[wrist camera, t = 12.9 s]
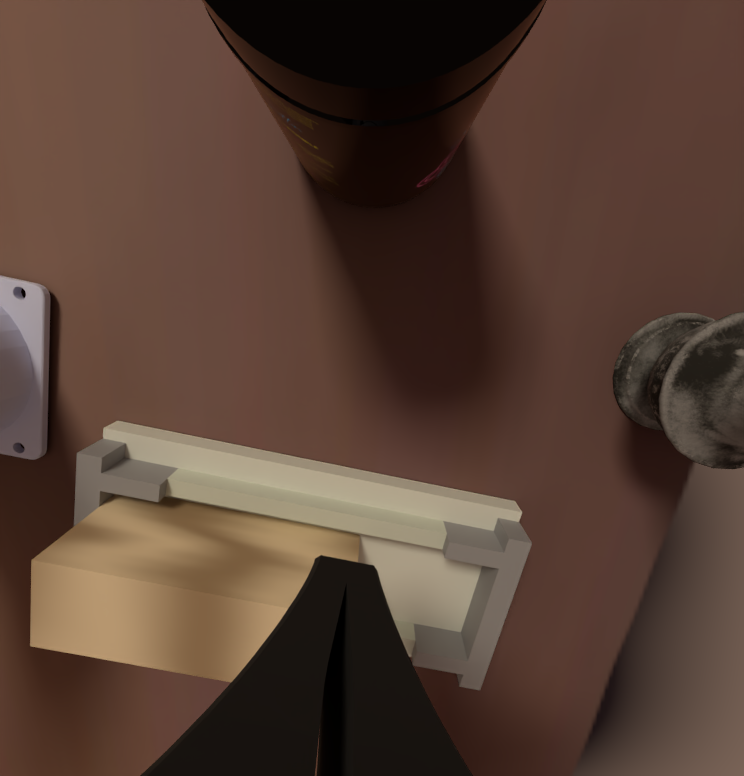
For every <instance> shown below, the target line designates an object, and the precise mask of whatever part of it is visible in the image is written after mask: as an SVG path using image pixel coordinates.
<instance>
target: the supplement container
mask: <svg viewBox="0 0 744 776" xmlns="http://www.w3.org/2000/svg"><path fill="white" fill-rule="evenodd" d="M202 2H203V3H204V5H205V7H206V10H207V12H208V14H209V16H210V18H211V19H212V21H213V23H214V24H215V26H216V28H217V30H218V31H219V33H220V35H221V36H222V38H223V40H224V41H225V43H226V44H227V45H228V47H229V48H230V50H231V51H232V53H233V54H234V55H235V57H236V58H237V59H238V60H239V62H240V63H241V64H242V65H243V67H244V68H245V70H246V72H247V73H248V75H249V77H250V78H251V80H252V82H253V83H254V85H255V87H256V88H257V90H258V92H259V93H260V95H261V97H262V98H263V100H264V102H265V103H266V105H267V107H268V108H269V110H270V112H271V113H272V115H273V117H274V118H275V120H276V122H277V124H278V125H279V127H280V129H281V130H282V132H283V134H284V135H285V137H286V139H287V140H288V142H289V144H290V145H291V147H292V149H293V150H294V152H295V154H296V155H297V157H298V159H299V160H300V162H301V164H302V165H303V167H304V168H305V170H306V171H307V173H308V174H309V175H310V176H311V177H312V179H313V180H314V181H315V182H316V183H317V184H318V185H319V186H320V187H322V188H323V189H324V190H325V191H327V192H328V193H330V194H331V195H333V196H334V197H336V198H338V199H340V200H342V201H344V202H347V203H350V204H353V205H357V206H361V207H370V208H380V207H388V206H393V205H397V204H400V203H403V202H406V201H408V200H410V199H412V198H414V197H416V196H417V195H419V194H421V193H422V192H423V191H425V190H426V189H427V188H429V187H430V186H431V185H432V184H433V183H434V182H435V181H436V180H437V179H438V178H439V177H440V176H441V174H442V173H443V172H444V170H445V169H446V168H447V166H448V164H449V163H450V161H451V159H452V158H453V156H454V154H455V153H456V151H457V149H458V147H459V146H460V144H461V142H462V140H463V139H464V137H465V135H466V134H467V132H468V130H469V128H470V127H471V125H472V123H473V122H474V120H475V118H476V116H477V115H478V113H479V111H480V109H481V108H482V106H483V104H484V103H485V101H486V99H487V97H488V96H489V94H490V92H491V91H492V89H493V87H494V85H495V84H496V82H497V80H498V79H499V77H500V75H501V73H502V72H503V70H504V68H505V66H506V65H507V63H508V62H509V61H510V59H511V58H512V57H513V55H514V54H515V53H516V51H517V50H518V49H519V47H520V46H521V44H522V43H523V42H524V40H525V39H526V37H527V35H528V33H529V32H530V30H531V28H532V27H533V25H534V23H535V22H536V20H537V18H538V17H539V15H540V13H541V11H542V9H543V7H544V5H545V3H546V0H202Z"/></svg>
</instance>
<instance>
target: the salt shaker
mask: <svg viewBox="0 0 744 776" xmlns="http://www.w3.org/2000/svg"><path fill="white" fill-rule="evenodd" d="M613 387H614V394H615V397H616V399H617V402H618V404H619V406H620V408H621V409H622V410H623V411H624V413H625V414H626V415H627V416H628V417H629V418H631V419H632V420H633V421H635V422H636V423H638V424H639V425H642V426H645V427H648V428H651V429H654V430H664V432H665V435H666V437H667V438H668V439H669V441H670V442H671V443H672V444H673V446H674V447H675V448H676V450H677V451H679V452H680V453H682V454H683V455H684V456H686V457H687V458H689V459H690V460H692V461H693V462H696V463H699V464H702V465H705V466H708V467H711V468H721V469H737V468H742V467H744V312H739V313H734V314H730V315H728V316H726V317H724V318H721V319H719V320H716V321H715V320H714V319H712V318H709V317H706V316H703V315H700V314H697V313H675V314H670V315H665V316H662V317H660V318H658V319H656V320H653V321H651V322H649V323H647V324H646V325H645V326H643V327H642V328H641V329H640V330H638V331H637V332H636V333H635V334H633V336H632V337H631V338H630V339H629V341H628V342H627V343H626V344H625V346H624V347H623V348H622V350H621V353H620V355H619V357H618V359H617V361H616V364H615V369H614V374H613Z"/></svg>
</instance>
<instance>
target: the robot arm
mask: <svg viewBox="0 0 744 776" xmlns="http://www.w3.org/2000/svg"><path fill="white" fill-rule="evenodd" d="M22 288H23V289H24V290H25V292H26V296H25V298H24V297H23V296H22V293H21V290H22ZM49 340H50V293H49V291H48V290H47V288H45V287H44V286H43V285H41V284H38V283H33V282H28V281H24V280H19V279H14V278H10V277H5V276H0V454H4V455H9V456H14V457H20V458H25V459H30V460H35V459H38V458H40V457H42V456H44V455H45V454H46V451H47V426H48V383H49ZM20 443H21V444H22V445H23V446H24V449H23V448H22V447H21V445H20ZM319 728H320V733H319ZM318 737H319V749H318V765H317V776H473V775H472V774H471V772H470V770H469V769H468V767H467V765H466V764H465V762H464V761H463V759H462V757H461V756H460V754H459V752H458V750H457V749H456V747H455V745H454V743H453V742H452V740H451V738H450V736H449V735H448V733H447V731H446V729H445V728H444V726H443V724H442V722H441V720H440V719H439V717H438V715H437V713H436V711H435V709H434V707H433V705H432V703H431V701H430V700H429V698H428V696H427V694H426V692H425V689H424V687H423V685H422V683H421V681H420V679H419V677H418V675H417V673H416V671H415V669H414V667H413V664H412V662H411V660H410V658H409V656H408V653H407V651H406V649H405V646H404V644H403V642H402V639H401V637H400V634H399V632H398V630H397V627H396V625H395V622H394V620H393V617H392V614H391V612H390V609H389V606H388V603H387V601H386V598H385V595H384V592H383V589H382V585H381V582H380V579H379V575H378V571H377V569H376V568H375V566H374V565H369V564H364V563H359V562H354V561H349V560H344V559H338V558H333V557H328V556H323V555H320V556H319V557H317V558H315V560H314V564H313V566H312V568H311V571H310V573H309V575H308V577H307V579H306V581H305V582H304V584H303V586H302V588H301V589H300V591H299V593H298V594H297V596H296V598H295V599H294V601H293V602H292V604H291V605H290V607H289V608H288V610H287V611H286V613H285V614H284V616H283V617H282V619H281V620H280V622H279V623H278V624H277V626H276V627H275V629H274V630H273V631H272V633H271V634H270V635H269V636H268V638H267V639H266V640H265V642H264V643H263V644H262V645H261V647H260V648H259V649H258V651H257V652H256V653H255V655H254V656H253V657H252V658H251V660H250V661H249V662H248V663H247V665H246V666H245V667H244V668H243V669H242V671H241V672H240V673H239V674H238V675H237V676H236V678H235V679H234V680H233V681H232V682H231V683H230V685H229V686H228V687H227V688H226V689H225V690H224V691H223V692H222V694H221V695H220V696H219V697H218V698H217V699H216V700H215V701H214V702H213V704H212V705H211V706H210V707H209V708H208V709H207V710H206V711H205V712H204V713H203V714H202V715H201V716H200V717H199V718H198V719H197V720H196V721H195V722H194V723H193V724H192V725H191V726H190V728H189V729H188V730H187V731H186V732H185V733H184V734H183V735H182V736H181V737H180V738H179V739H178V740H177V741H176V742H175V743H174V744H173V745H172V746H171V747H170V748H169V749H168V750H167V751H166V752H165V753H164V754H163V755H162V756H161V757H160V758H159V759H158V760H157V761H156V762H155V763H153V764H152V765H151V766H150V767H149V768H148V769H147V770H146V771H145V772H144V773H143V774H142V775H141V776H315V767H316V757H317V747H318Z"/></svg>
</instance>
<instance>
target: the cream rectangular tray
mask: <svg viewBox="0 0 744 776" xmlns="http://www.w3.org/2000/svg"><path fill="white" fill-rule="evenodd" d="M115 494H118V495H123V496H128V497H134V498H139V499H144V500H149V501H154V502H159V501H160V500H161V499H162V498H163V497H170V498H175V499H180V500H185V501H190V502H195V503H200V504H205V505H210V506H215V507H220V508H225V509H231V510H236V511H241V512H246V513H251V514H256V515H261V516H266V517H271V518H276V519H281V520H287V521H292V522H297V523H302V524H307V525H312V526H317V527H322V528H327V529H332V530H337V531H342V532H348V533H353V534H358V535H360V540H359V555H358V562H359V563H364V564H369V565H374V566H375V568H376V569H377V571H378V575H379V579H380V582H381V585H382V589H383V592H384V595H385V598H386V601H387V603H388V606H389V609H390V612H391V614H392V617H393V620H394V622H395V625H396V627H397V630H398V632H399V634H400V637H401V639H402V642H403V644H404V646H405V649H406V651H407V653H408V656H409V657H412V664H413V666H418V667H423V668H429V669H434V670H440V671H445V672H450V673H456V674H457V678H458V683H459V687H464V688H470V689H475V690H480V689H481V686H482V683H483V681H484V678H485V675H486V672H487V669H488V666H489V664H490V661H491V658H492V655H493V652H494V650H495V647H496V644H497V641H498V638H499V635H500V633H501V630H502V627H503V624H504V621H505V618H506V616H507V613H508V610H509V607H510V604H511V601H512V599H513V596H514V593H515V590H516V587H517V584H518V582H519V579H520V576H521V573H522V570H523V567H524V565H525V562H526V559H527V556H528V553H529V550H530V548H531V545H532V542H531V541H530V539H529V538H528V536H527V534H526V533H525V531H524V529H523V528H522V526H521V524H520V523H519V520H520V517H521V515H522V511H521V510H520V508H519V507H518V505H517V504H516V502H515V501H511V500H506V499H502V498H497V497H492V496H487V495H482V494H477V493H472V492H467V491H462V490H457V489H452V488H447V487H442V486H437V485H432V484H428V483H423V482H418V481H413V480H408V479H403V478H398V477H393V476H388V475H383V474H378V473H373V472H368V471H363V470H358V469H354V468H349V467H344V466H339V465H334V464H329V463H324V462H319V461H314V460H309V459H304V458H299V457H294V456H289V455H285V454H280V453H275V452H270V451H265V450H260V449H255V448H250V447H245V446H240V445H235V444H230V443H225V442H220V441H215V440H211V439H206V438H201V437H196V436H191V435H186V434H181V433H176V432H171V431H166V430H161V429H156V428H151V427H146V426H141V425H137V424H132V423H127V422H122V421H116V422H114V423H112V424H110V425H109V426H107V427H105V428H104V431H103V439H101V440H99V441H98V442H96V443H94V444H92V445H90V446H88V447H87V448H85V449H83V450H81V451H79V452H77V462H76V486H75V510H74V526H75V525H77V524H78V523H79V522H80V521H82V520H83V519H84V518H86V517H87V516H88V515H89V514H91V513H92V512H93V511H94V510H96V509H97V508H98V507H100V506H101V505H102V504H103V503H105V502H106V501H107V500H108V499H110V498H111V497H112V496H114V495H115Z"/></svg>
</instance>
